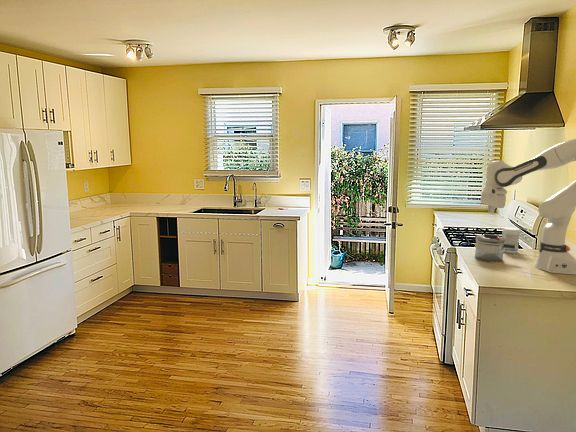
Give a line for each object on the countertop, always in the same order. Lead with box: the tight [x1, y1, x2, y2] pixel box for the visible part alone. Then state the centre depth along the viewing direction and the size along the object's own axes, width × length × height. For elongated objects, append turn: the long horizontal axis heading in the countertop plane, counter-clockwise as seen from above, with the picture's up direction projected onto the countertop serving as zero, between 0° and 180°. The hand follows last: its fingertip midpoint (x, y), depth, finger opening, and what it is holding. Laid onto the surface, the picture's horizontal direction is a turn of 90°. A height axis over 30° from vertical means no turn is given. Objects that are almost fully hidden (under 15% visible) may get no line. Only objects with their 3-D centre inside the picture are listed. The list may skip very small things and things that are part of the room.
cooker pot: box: [474, 238, 515, 263], centre depth 269 cm, size 21×16×11 cm
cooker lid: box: [475, 233, 506, 243], centre depth 269 cm, size 16×16×3 cm
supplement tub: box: [501, 226, 520, 254], centre depth 288 cm, size 10×10×15 cm
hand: (491, 213), depth 264 cm, fingers closed
